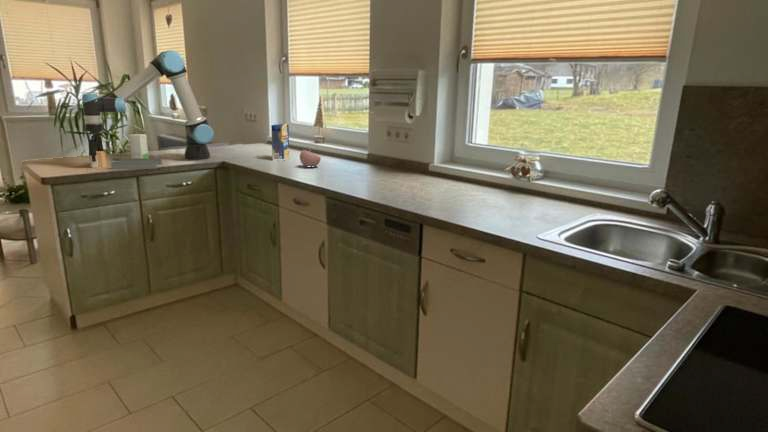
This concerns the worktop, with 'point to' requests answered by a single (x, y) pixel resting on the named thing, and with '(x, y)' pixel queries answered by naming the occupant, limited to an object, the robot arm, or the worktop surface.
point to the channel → (136, 163)
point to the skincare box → (138, 146)
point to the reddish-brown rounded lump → (309, 158)
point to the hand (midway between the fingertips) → (98, 166)
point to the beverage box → (280, 141)
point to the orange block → (99, 159)
